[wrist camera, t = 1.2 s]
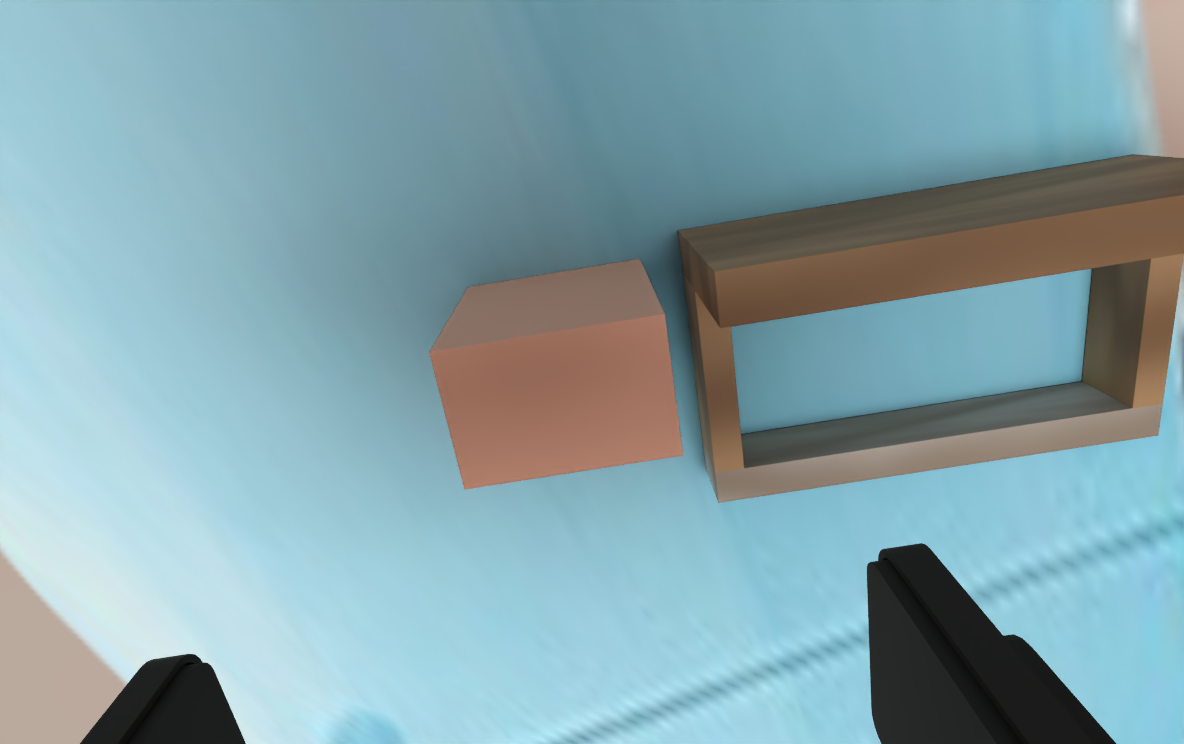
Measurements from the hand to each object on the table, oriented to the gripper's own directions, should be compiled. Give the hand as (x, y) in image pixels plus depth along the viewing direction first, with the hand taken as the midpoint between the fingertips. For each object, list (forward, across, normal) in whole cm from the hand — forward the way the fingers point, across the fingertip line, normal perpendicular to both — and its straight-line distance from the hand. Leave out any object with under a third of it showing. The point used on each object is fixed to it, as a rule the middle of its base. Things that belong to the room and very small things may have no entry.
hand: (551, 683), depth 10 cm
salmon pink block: (+16, 0, -1) cm, 16 cm away
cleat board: (+16, -12, +1) cm, 20 cm away
